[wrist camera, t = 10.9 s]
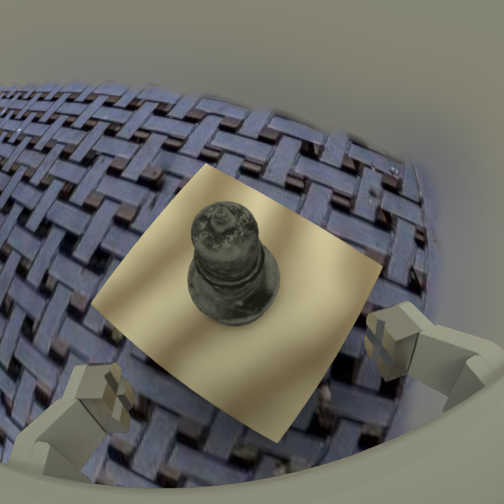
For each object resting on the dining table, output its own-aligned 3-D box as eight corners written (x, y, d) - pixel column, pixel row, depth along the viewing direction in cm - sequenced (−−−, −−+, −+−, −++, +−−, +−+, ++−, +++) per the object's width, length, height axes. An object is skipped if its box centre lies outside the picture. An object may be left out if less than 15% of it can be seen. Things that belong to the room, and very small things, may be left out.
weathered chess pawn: (208, 247, 23) (174, 141, 12) (282, 263, 23) (311, 163, 11) (187, 319, 21) (120, 266, 10) (266, 338, 20) (285, 307, 9)
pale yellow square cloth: (97, 306, 22) (90, 303, 21) (207, 171, 27) (205, 163, 26) (276, 439, 19) (277, 443, 17) (377, 271, 24) (382, 266, 22)
